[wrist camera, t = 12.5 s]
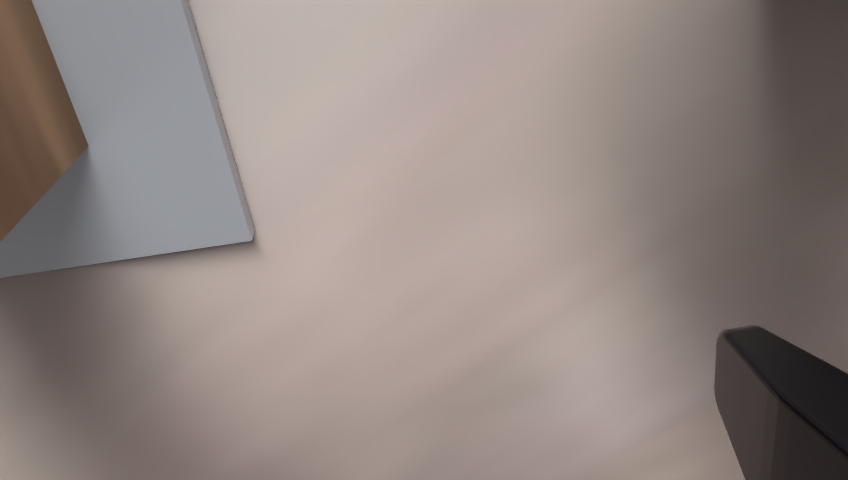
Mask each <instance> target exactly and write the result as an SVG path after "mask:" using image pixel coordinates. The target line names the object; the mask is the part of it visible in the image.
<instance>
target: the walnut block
mask: <svg viewBox="0 0 848 480" xmlns="http://www.w3.org/2000/svg"><path fill="white" fill-rule="evenodd" d="M88 146H89V145H88V143H87V140H86V138H85V135H84V133H83V130H82V127H81V125H80V122H79V120H78V117H77V115H76V112H75V110H74V107H73V104H72V102H71V99H70V97H69V94H68V92H67V89H66V87H65V84H64V81H63V79H62V76H61V74H60V71H59V69H58V66H57V64H56V61H55V58H54V56H53V53H52V51H51V48H50V46H49V43H48V41H47V38H46V35H45V33H44V30H43V28H42V25H41V23H40V20H39V18H38V15H37V13H36V10H35V7H34V5H33V2H32V0H0V242H1V241H2V240H3V239H4V238H5V237H6V236H7V235H8V233H9V232H10V231H11V230H12V229H13V228H14V227H15V226H16V225H17V224H18V223H19V221H20V220H21V219H22V218H23V217H24V216H25V215H26V214H27V213H28V212H29V211H30V209H31V208H32V207H33V206H34V205H35V204H36V203H37V202H38V201H39V200H40V199H41V198H42V196H43V195H44V194H45V193H46V192H47V191H48V190H49V189H50V188H51V187H52V186H53V184H54V183H55V182H56V181H57V180H58V179H59V178H60V177H61V176H62V175H63V174H64V172H65V171H66V170H67V169H68V168H69V167H70V166H71V165H72V164H73V163H74V162H75V161H76V159H77V158H78V157H79V156H80V155H81V154H82V153H83V152H84V151H85V150H86V149H87V147H88Z"/></svg>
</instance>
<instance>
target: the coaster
mask: <svg viewBox="0 0 848 480" xmlns="http://www.w3.org/2000/svg"><path fill="white" fill-rule="evenodd" d="M32 2H33V5H34V7H35V10H36V13H37V15H38V18H39V20H40V23H41V25H42V28H43V30H44V33H45V35H46V38H47V41H48V43H49V46H50V48H51V51H52V53H53V56H54V58H55V61H56V64H57V66H58V69H59V71H60V74H61V76H62V79H63V81H64V84H65V87H66V89H67V92H68V94H69V97H70V99H71V102H72V104H73V107H74V110H75V112H76V115H77V117H78V120H79V122H80V125H81V127H82V130H83V133H84V135H85V138H86V140H87V143H88V145H89V146H88V147H87V149H86V150H85V151H84V152H83V153H82V154H81V155H80V156H79V157H78V158H77V159H76V161H75V162H74V163H73V164H72V165H71V166H70V167H69V168H68V169H67V170H66V171H65V172H64V174H63V175H62V176H61V177H60V178H59V179H58V180H57V181H56V182H55V183H54V184H53V186H52V187H51V188H50V189H49V190H48V191H47V192H46V193H45V194H44V195H43V196H42V198H41V199H40V200H39V201H38V202H37V203H36V204H35V205H34V206H33V207H32V208H31V209H30V211H29V212H28V213H27V214H26V215H25V216H24V217H23V218H22V219H21V220H20V221H19V223H18V224H17V225H16V226H15V227H14V228H13V229H12V230H11V231H10V232H9V233H8V235H7V236H6V237H5V238H4V239H3V240H2V241H1V242H0V278H4V277H10V276H17V275H24V274H31V273H37V272H44V271H51V270H58V269H64V268H71V267H78V266H85V265H91V264H98V263H105V262H111V261H118V260H125V259H132V258H138V257H145V256H152V255H159V254H165V253H172V252H179V251H186V250H192V249H199V248H206V247H213V246H219V245H226V244H233V243H240V242H246V241H252V239H253V236H254V233H255V228H254V225H253V221H252V218H251V215H250V211H249V208H248V204H247V201H246V197H245V194H244V191H243V187H242V184H241V180H240V177H239V173H238V170H237V167H236V163H235V160H234V156H233V153H232V150H231V146H230V143H229V139H228V136H227V132H226V129H225V126H224V122H223V119H222V115H221V112H220V109H219V105H218V102H217V98H216V95H215V91H214V88H213V85H212V81H211V78H210V74H209V71H208V67H207V64H206V61H205V57H204V54H203V50H202V47H201V44H200V40H199V37H198V33H197V30H196V26H195V23H194V20H193V16H192V13H191V9H190V6H189V2H188V0H32Z"/></svg>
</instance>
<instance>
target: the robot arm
mask: <svg viewBox="0 0 848 480" xmlns="http://www.w3.org/2000/svg"><path fill="white" fill-rule="evenodd" d="M714 390H715V397H716V402H717V406H718V409H719V412H720V414H721V417H722V420H723V422H724V425H725V427H726V430H727V433H728V435H729V438H730V440H731V443H732V446H733V448H734V451H735V454H736V456H737V459H738V461H739V464H740V467H741V469H742V472H743V475H744V477H745V480H848V374H847V373H846V372H844V371H842V370H840V369H838V368H836V367H834V366H832V365H831V364H829V363H827V362H825V361H823V360H821V359H819V358H818V357H816V356H814V355H812V354H810V353H808V352H806V351H805V350H803V349H801V348H799V347H797V346H795V345H793V344H791V343H790V342H788V341H786V340H784V339H782V338H780V337H778V336H777V335H775V334H773V333H771V332H769V331H767V330H765V329H763V328H761V327H759V326H746V327H739V328H732V329H725V330H723V331H722V332H721V333H720V334H719V336H718V338H717V344H716V364H715V383H714Z"/></svg>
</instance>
